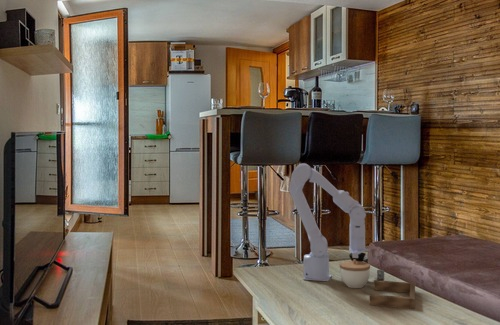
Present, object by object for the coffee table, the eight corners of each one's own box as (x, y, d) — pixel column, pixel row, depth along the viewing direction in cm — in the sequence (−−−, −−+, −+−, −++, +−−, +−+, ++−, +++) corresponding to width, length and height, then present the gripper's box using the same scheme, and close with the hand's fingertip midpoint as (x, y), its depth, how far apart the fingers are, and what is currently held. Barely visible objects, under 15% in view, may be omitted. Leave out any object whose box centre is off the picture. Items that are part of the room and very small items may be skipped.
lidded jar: (371, 282, 182) (371, 257, 182) (368, 291, 172) (368, 264, 172) (342, 280, 186) (342, 255, 185) (337, 288, 176) (337, 262, 175)
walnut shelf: (369, 304, 158) (369, 295, 158) (374, 288, 175) (374, 280, 175) (414, 308, 153) (414, 299, 153) (415, 291, 170) (415, 283, 170)
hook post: (376, 289, 173) (376, 272, 173) (377, 286, 178) (377, 269, 177) (383, 290, 172) (383, 273, 172) (384, 286, 177) (384, 270, 176)
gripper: (366, 241, 178) (366, 278, 179) (370, 233, 192) (370, 268, 192) (346, 240, 180) (346, 277, 181) (351, 233, 194) (351, 267, 195)
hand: (357, 272), depth 187 cm, fingers closed
